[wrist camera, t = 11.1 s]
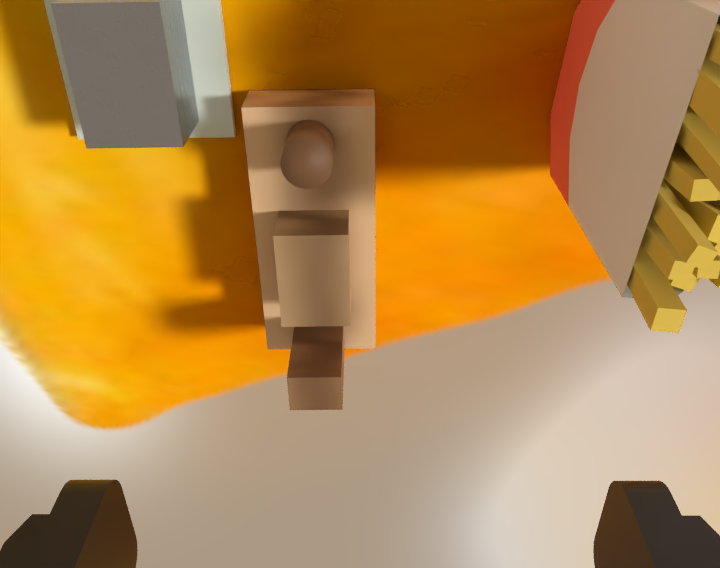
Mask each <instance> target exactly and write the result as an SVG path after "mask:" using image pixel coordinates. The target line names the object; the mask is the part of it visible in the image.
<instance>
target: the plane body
mask: <svg viewBox="0 0 720 568" xmlns="http://www.w3.org/2000/svg"><path fill="white" fill-rule="evenodd" d="M241 111H242V120H243V129H244V138H245V147H246V156H247V165H248V174H249V183H250V192H251V201H252V210H253V219H254V228H255V237H256V247H257V256H258V265H259V274H260V283H261V292H262V301H263V310H264V319H265V328H266V337H267V346H268V349H291V353H290V360H289V367H288V374H287V383H288V394H289V405H290V410H329V409H330V410H333V409H334V410H336V409H337V410H340V409H342V404H343V375H344V374H343V373H344V349H356V348H375V94H374V89H328V90H249V92H248V94H247V96H246V98H245V100H244V103H243V105H242V107H241Z"/></svg>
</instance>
